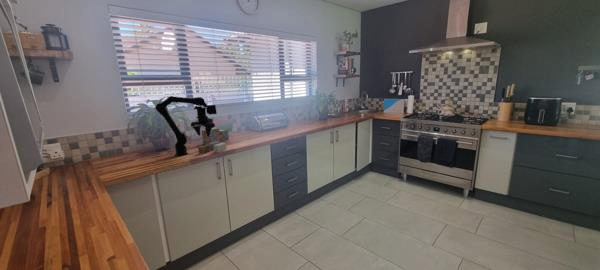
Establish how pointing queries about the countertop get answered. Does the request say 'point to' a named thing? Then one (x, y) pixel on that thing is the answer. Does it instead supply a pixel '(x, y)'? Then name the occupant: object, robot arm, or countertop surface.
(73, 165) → the countertop surface
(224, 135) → the stack of blocks
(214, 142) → the slate brick
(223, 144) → the cream brick
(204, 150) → the walnut brick
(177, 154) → the robot arm
